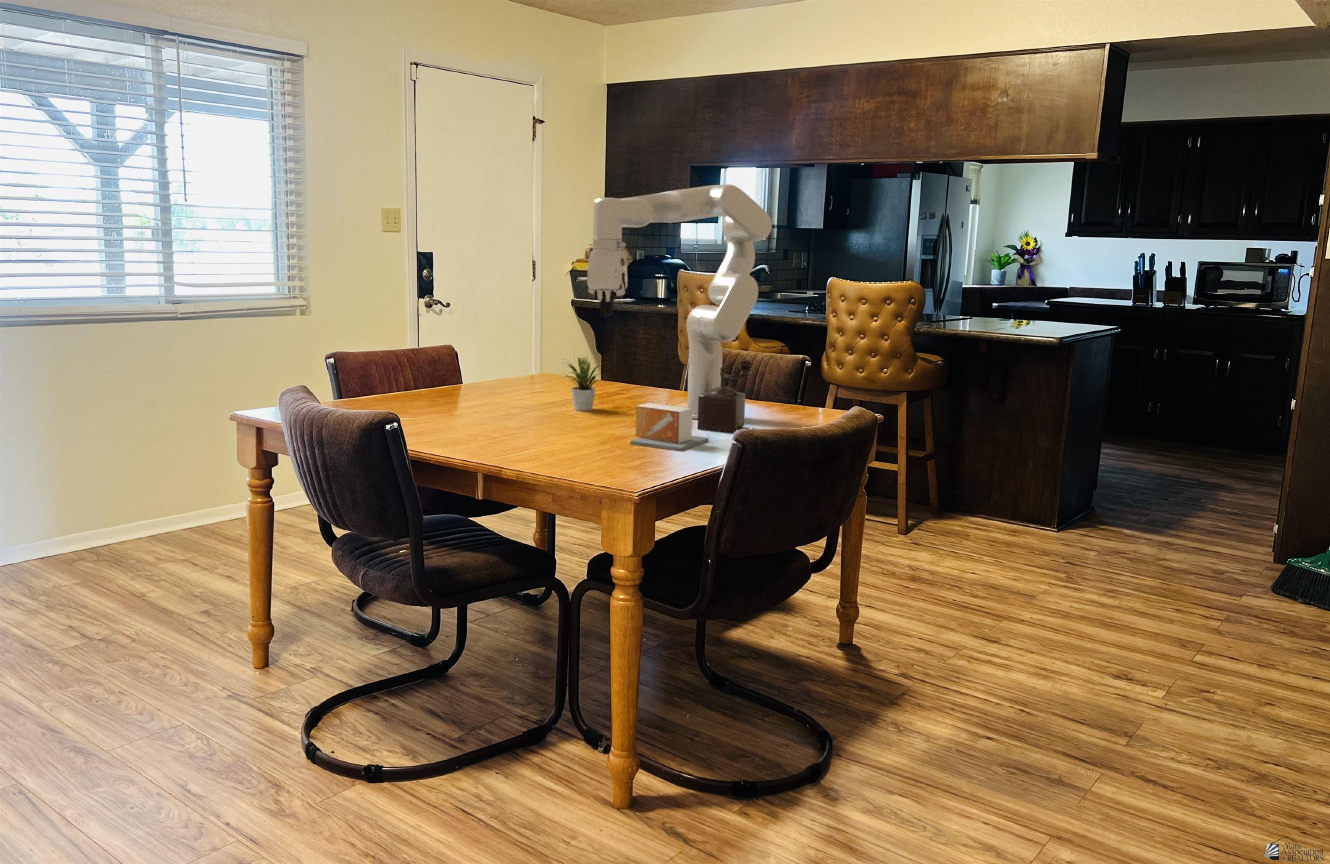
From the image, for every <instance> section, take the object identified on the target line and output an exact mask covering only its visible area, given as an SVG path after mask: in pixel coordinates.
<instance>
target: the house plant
mask: <svg viewBox="0 0 1330 864" xmlns="http://www.w3.org/2000/svg"><path fill="white" fill-rule="evenodd" d="M588 356H589V354H588V355H587V356H583V358H582V357H579V356H576V357H577V361H578V368H579V370H578V369H576V367H575V366H574V365H572V364H571V363H569V362H568V360H566V359H565V358H563V359H562V360H564V361H566V364H567V365H565V367H566V366H567V367H569V368H571V370H572V371H571V372H570V373H571V374H574V375H575V377H573V376H569V375H567V374H565V373H563V372H561V374H564V375H565V376H563V379H565V378H569V379H570V381H569V382H570V383H571V382H573V384H575V385H576V386H573V387H571V396H572V402H573V409H574V411H577V410H579V412H589V411H590V412H591V411H592V410H593V408H594V407H593V406H594V400H595V395H596V394H595V393H596V388H595V387H593V385H594V384H595V383H597V382H602V380H601V379H597V380H595V379H596V378H597V377H596V376H601V375H602V374H601V373H599V374H594V373H595V372H596V370H597V368H598V367H599V366H600V365H602V364H603V362H602V363H601V362H600V363H599V364H597V365H596V366H595V367H594V368H593V369H592V371H591V372H590V370H591V362H590V360H589V359H588ZM562 363H563V364H565V362H562ZM578 371H579V372H578Z"/></svg>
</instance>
